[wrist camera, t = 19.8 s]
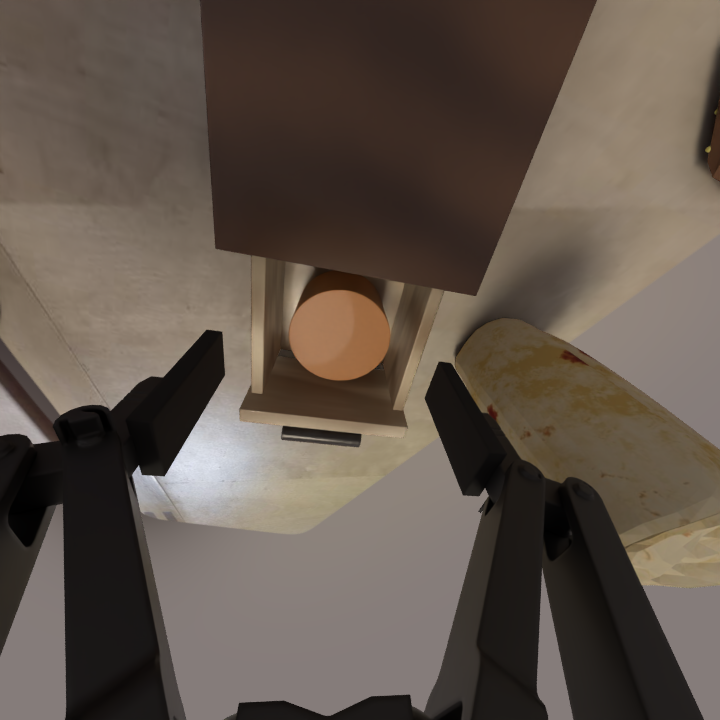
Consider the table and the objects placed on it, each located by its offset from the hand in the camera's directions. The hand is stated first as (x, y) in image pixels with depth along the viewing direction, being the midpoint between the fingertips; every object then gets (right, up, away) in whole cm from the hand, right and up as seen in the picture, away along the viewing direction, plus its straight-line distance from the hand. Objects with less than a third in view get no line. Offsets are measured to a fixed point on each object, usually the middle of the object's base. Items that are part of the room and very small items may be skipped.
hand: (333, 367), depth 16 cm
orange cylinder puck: (0, +4, +8) cm, 9 cm away
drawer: (0, +4, +10) cm, 10 cm away
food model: (+15, +2, +13) cm, 20 cm away
